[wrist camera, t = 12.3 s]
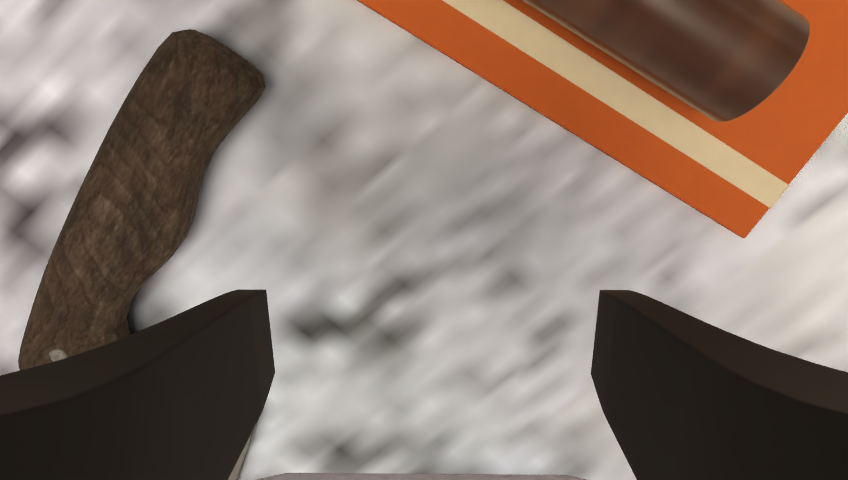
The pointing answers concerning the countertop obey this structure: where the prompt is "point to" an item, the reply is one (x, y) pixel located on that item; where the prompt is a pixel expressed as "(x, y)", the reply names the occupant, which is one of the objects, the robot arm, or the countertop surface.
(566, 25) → the rolling pin
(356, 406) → the countertop surface
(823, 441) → the robot arm
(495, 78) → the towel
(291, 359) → the countertop surface
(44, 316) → the cleaver
